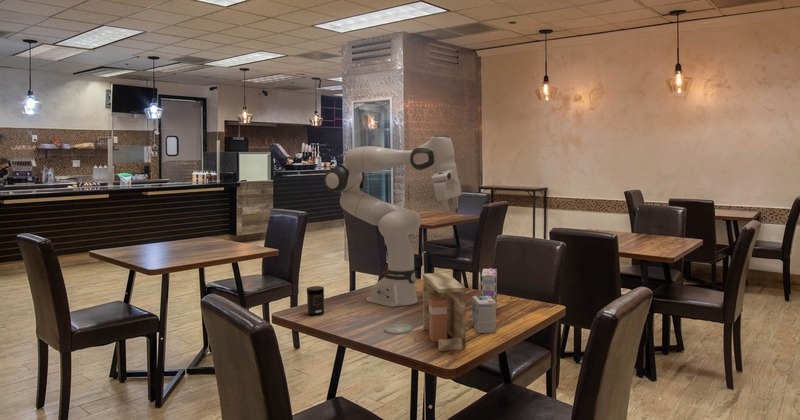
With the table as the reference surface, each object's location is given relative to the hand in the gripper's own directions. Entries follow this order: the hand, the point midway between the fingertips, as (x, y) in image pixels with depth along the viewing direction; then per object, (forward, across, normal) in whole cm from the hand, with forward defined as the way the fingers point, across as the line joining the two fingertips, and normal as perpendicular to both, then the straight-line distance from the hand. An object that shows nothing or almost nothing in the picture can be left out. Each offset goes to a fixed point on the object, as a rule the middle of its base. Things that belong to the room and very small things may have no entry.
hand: (451, 209), depth 227 cm
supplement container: (+33, +30, -52) cm, 68 cm away
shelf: (+40, +38, +5) cm, 56 cm away
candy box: (+42, +1, +10) cm, 44 cm away
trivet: (+38, +35, -13) cm, 53 cm away
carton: (+40, +39, +4) cm, 56 cm away
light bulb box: (+42, +22, +14) cm, 50 cm away
